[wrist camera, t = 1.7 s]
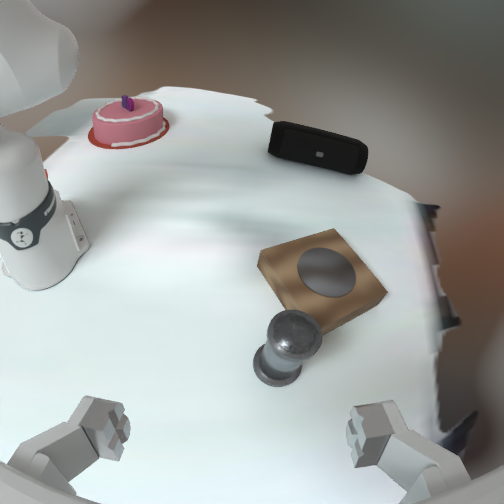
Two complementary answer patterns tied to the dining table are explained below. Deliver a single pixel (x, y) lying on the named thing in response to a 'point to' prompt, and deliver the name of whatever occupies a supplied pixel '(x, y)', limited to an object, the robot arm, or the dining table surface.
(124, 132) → the cake
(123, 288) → the dining table surface
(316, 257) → the stand
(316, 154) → the portable speaker
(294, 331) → the cylinder
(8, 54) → the robot arm
